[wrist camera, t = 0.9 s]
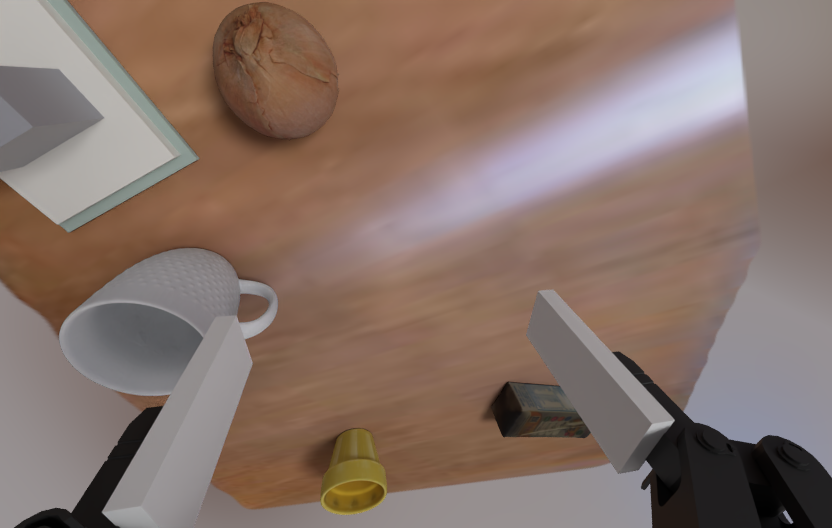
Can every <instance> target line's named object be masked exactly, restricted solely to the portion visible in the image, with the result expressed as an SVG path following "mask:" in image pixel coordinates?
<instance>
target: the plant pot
mask: <svg viewBox="0 0 832 528" xmlns="http://www.w3.org/2000/svg"><path fill="white" fill-rule="evenodd" d="M386 494H387V483H386V474H385V470H384V467H383V466H382V465H381V464H380V462H379V458H378V454H377V451H376V447H375V444H374V440H373V436H372V434H371V433H370V432H369V431H367V430H365V429H359V428H358V429H350V430H347V431H345V432H343V433H342V434H340V435H339V437H338V438H337V440H336V443H335V447H334V451H333V454H332V458H331V461H330V465H329V468H328V470H327V471H326V473H325V474H324V476H323V480H322V487H321V498H320V502H321V505H322V507H323V508H324V509H326V510H327V511H329V512H332V513H335V514H342V515H349V514H357V513H362V512H365V511H368V510H370V509H372V508H374V507H376V506H377V505H379V504H380V503H381V502H382V501H383V500H384V499H385V497H386Z"/></svg>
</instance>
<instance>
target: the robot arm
mask: <svg viewBox="0 0 832 528" xmlns="http://www.w3.org/2000/svg"><path fill="white" fill-rule="evenodd" d="M526 336H527V337H528V339H529V340H530V342H531V343H532V345H533V346H534V348H535V349H536V351H537V352H538V354H539V355H540V357H541V358H542V360H543V361H544V363H545V364H546V366H547V367H548V369H549V370H550V372H551V373H552V375H553V376H554V378H555V379H556V381H557V382H558V384H559V385H560V387H561V388H562V390H563V391H564V393H565V394H566V396H567V397H568V399H569V400H570V402H571V403H572V405H573V406H574V408H575V409H576V411H577V412H578V414H579V415H580V417H581V418H582V420H583V421H584V423H585V424H586V426H587V427H588V429H589V430H590V432H591V433H592V435H593V436H594V438H595V439H596V441H597V442H598V444H599V445H600V447H601V448H602V450H603V451H604V453H605V454H606V456H607V457H608V459H609V460H610V462H611V464H612V465H613V467H614V468H615V470H616V471H617V473H618V474H619V473H625V472H630V471H636V470H639V469H640V467H641V466H642V464H643V463H644V462H645V461H647V462H648V463H649V464H650V466H651V467H652V468H653V469H652V471H651V472H650V473H649V475H648V476H647V477H646V479H645V480H644V481H643V483H642V486H641V489H643V490H645V489H646V488H647V487H648V485H649V484H650V485H651V507H652V525H653V526H652V528H832V478H831V476H830V475H829V474H828V472H827V471H826V470H825V469H824V467H823V466H822V465H821V464H820V463H819V462H818V461H817V459H816V458H814V456H813V455H811V454H810V453H808V452H807V451H806V450H805V449H803V448H802V447H800V446H799V445H797V444H795V443H793V442H791V441H790V440H787V439H784V438H781V437H779V436H772V435H768V436H765V437H763V438H762V439H761V440H760V441H759V442H758V443H757V444H752V443H746V442H740V441H734V440H729V439H728V438H727V437H725V436H724V435H723V434H721V433H720V432H719V431H717V430H715V429H713V428H711V427H709V426H707V425H703V424H700V423H694V422H693V421H692V420H691V419H690V418H689V417H688V416H687V415H686V414H685V413H684V412H683V411H682V410H681V409H680V408H679V407H678V406H677V405H676V404H675V403H674V402H673V401H672V400H671V399H670V398H669V397H668V396H667V395H666V394H665V393H664V392H663V391H662V390H661V389H660V388H659V387H658V386H657V385H656V384H654V383H653V381H652V380H651V379H650V377H649V376H648V375H647V374H646V375H645V374H644V371H643V370H642V369H641V368H640V367H639V366H638V365H637V364H636V363H635V362H634V361H633V360H631V359H630V358H628V357H627V356H625V355H623V354H622V353H620V352H611V351H610V350H609V349H608V348H607V347H606V346H605V345H604V344H603V343H602V341H601V340H600V339H599V338H598V337H597V336H596V335H595V334H594V333H593V332H592V331H591V330H590V329H589V328H588V326H587V325H586V324H585V323H584V322H583V321H582V320H581V319H580V318H579V317H578V316H577V315H576V314H575V313H574V311H573V310H572V309H571V308H570V307H569V306H568V305H567V304H566V303H565V302H564V301H563V300H562V299H561V298H560V296H559V295H558V294H557V293H556V292H555V291H554V290H543V291H538V293H537V297H536V301H535V304H534V308H533V312H532V315H531V319H530V323H529V326H528V330H527V334H526ZM252 364H253V363H252V360H251V357H250V354H249V351H248V348H247V345H246V342H245V339H244V336H243V333H242V330H241V327H240V324H239V321H238V318H237V315H233V316H220V317H215V319H214V321H213V323H212V324H211V326H210V328H209V329H208V331H207V333H206V335H205V336H204V338H203V340H202V341H201V343H200V345H199V347H198V348H197V350H196V352H195V353H194V355H193V357H192V359H191V360H190V362H189V364H188V365H187V367H186V369H185V371H184V372H183V374H182V376H181V377H180V379H179V381H178V383H177V384H176V386H175V388H174V389H173V391H172V393H171V395H170V396H169V398H168V400H167V401H166V403H165V405H164V406H159V407H151V408H146V409H145V410H144V411H143V412H142V413H141V414H140V415H139V416H138V417H137V418H135V420H133V421H132V422H131V423H130V424H129V426H128V427H127V429H126V430H125V432H124V433H123V435H122V436H121V438H120V439H119V441H118V445H117V446H115V447H114V449H113V450H112V452H111V453H110V455H109V456H108V460H107V461H105V462H104V464H103V465H102V467H101V469H100V470H99V472H98V473H97V475H96V476H95V478H94V479H93V481H92V482H91V484H90V485H89V487H88V488H87V490H86V491H85V493H84V495H83V496H82V498H81V499H80V501H79V502H78V504H77V505H76V507H75V508H74V510H73V511H72V513H70V512H69V511H67V510H66V509H60V508H54V509H50V510H45V511H41V512H39V513H37V514H35V515H34V516H32V517H30V518H28V519H26V520H24V521H22V522H21V523H20V524H18V525H17V526H16V527H14V528H194V525H195V522H196V520H197V517H198V514H199V511H200V508H201V506H202V503H203V500H204V497H205V494H206V492H207V489H208V486H209V483H210V481H211V478H212V475H213V472H214V470H215V467H216V464H217V461H218V458H219V456H220V453H221V450H222V447H223V445H224V442H225V439H226V436H227V433H228V431H229V428H230V425H231V422H232V419H233V417H234V414H235V411H236V408H237V406H238V403H239V400H240V397H241V394H242V392H243V389H244V386H245V383H246V381H247V378H248V375H249V372H250V369H251V367H252ZM785 510H786V511H787V512H788V514H789V516H790V517H791V519H792V521H793V523H792V524H790V522H789V521H788V520H787V519H786V517H785V515H784V514H783V512H784V511H785Z"/></svg>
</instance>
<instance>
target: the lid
mask: <svg viewBox="0 0 832 528" xmlns="http://www.w3.org/2000/svg"><path fill="white" fill-rule="evenodd" d="M180 155H181V154H180V153H179V152H178V151H177V150H176V149H175V147H174V146H173V145H172V144H171V143H170V142H169V140H168V139H167V138H166V137H165V136H164V135H163V133H162V132H161V131H160V130H159V129H158V128H157V127H156V125H155V124H154V123H153V122H152V121H151V120H150V118H149V117H148V116H147V115H146V114H145V113H144V112H143V110H142V109H141V108H140V107H139V106H138V105H137V103H136V102H135V101H134V100H133V99H132V98H131V97H130V95H129V94H128V93H127V92H126V91H125V90H124V88H123V87H122V86H121V85H120V84H119V83H118V81H117V80H116V79H115V78H114V77H113V76H112V75H111V73H110V72H109V71H108V70H107V69H106V68H105V66H104V65H103V64H102V63H101V62H100V61H99V60H98V58H97V57H96V56H95V55H94V54H93V53H92V51H91V50H90V49H89V48H88V47H87V46H86V44H85V43H84V42H83V41H82V40H81V39H80V38H79V36H78V35H77V34H76V33H75V32H74V31H73V29H72V28H71V27H70V26H69V25H68V24H67V23H66V21H65V20H64V19H63V18H62V17H61V16H60V14H59V13H58V12H57V11H56V10H55V9H54V7H53V6H52V5H51V4H50V3H49V2H48V1H47V0H0V179H2V180H3V181H4V182H5V183H7V184H8V185H9V186H10V187H11V188H13V189H14V190H15V191H16V192H18V193H19V194H20V195H21V196H23V197H24V198H25V199H26V200H27V201H29V202H30V203H31V204H32V205H34V206H35V207H36V208H37V209H39V210H40V211H41V212H42V213H43V214H45V215H46V216H47V217H48V218H50V219H51V220H52V221H53V222H55V223H56V224H57V225H58V224H60V223H62V222H64V221H67V220H68V219H70V218H72V217H74V216H75V215H77V214H79V213H81V212H82V211H84V210H86V209H88V208H89V207H91V206H93V205H95V204H96V203H98V202H100V201H102V200H103V199H105V198H107V197H109V196H110V195H112V194H114V193H115V192H117V191H119V190H121V189H122V188H124V187H126V186H128V185H129V184H131V183H133V182H135V181H136V180H138V179H140V178H142V177H143V176H145V175H147V174H149V173H150V172H152V171H154V170H156V169H157V168H159V167H161V166H163V165H164V164H166V163H168V162H170V161H171V160H173V159H175V158H177V157H178V156H180Z"/></svg>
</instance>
